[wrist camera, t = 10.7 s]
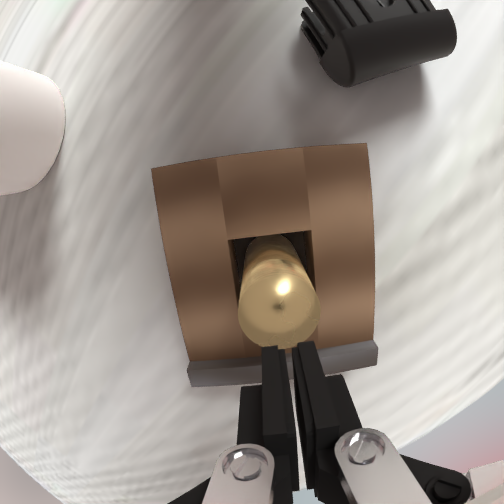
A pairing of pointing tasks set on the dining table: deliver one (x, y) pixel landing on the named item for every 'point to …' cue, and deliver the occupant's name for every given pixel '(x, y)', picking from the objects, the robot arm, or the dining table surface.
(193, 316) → the jig
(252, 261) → the gold peg
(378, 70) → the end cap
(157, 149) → the dining table surface
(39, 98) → the cup
